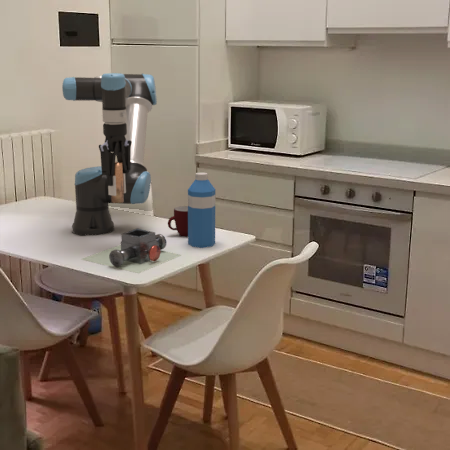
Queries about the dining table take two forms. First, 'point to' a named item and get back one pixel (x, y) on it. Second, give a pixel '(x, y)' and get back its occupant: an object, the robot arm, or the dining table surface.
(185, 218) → the mug
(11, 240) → the dining table surface
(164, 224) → the dining table surface
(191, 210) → the water bottle
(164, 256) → the mat
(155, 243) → the metal mallet head
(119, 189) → the brown mallet handle
